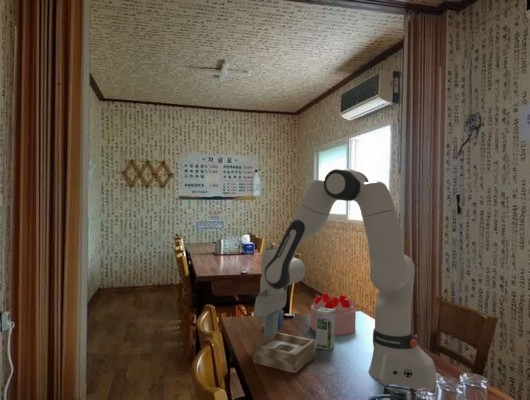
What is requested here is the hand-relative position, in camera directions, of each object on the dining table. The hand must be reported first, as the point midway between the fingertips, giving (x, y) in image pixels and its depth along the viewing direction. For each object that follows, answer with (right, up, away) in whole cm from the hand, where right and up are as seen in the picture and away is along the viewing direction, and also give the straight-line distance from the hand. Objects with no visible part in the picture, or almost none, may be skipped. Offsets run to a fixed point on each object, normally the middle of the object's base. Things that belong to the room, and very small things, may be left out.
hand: (270, 323), depth 154 cm
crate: (+5, -8, -17) cm, 19 cm away
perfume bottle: (+2, -8, +22) cm, 23 cm away
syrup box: (+21, -8, -4) cm, 23 cm away
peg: (0, -8, 0) cm, 8 cm away
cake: (+28, -9, +18) cm, 35 cm away
